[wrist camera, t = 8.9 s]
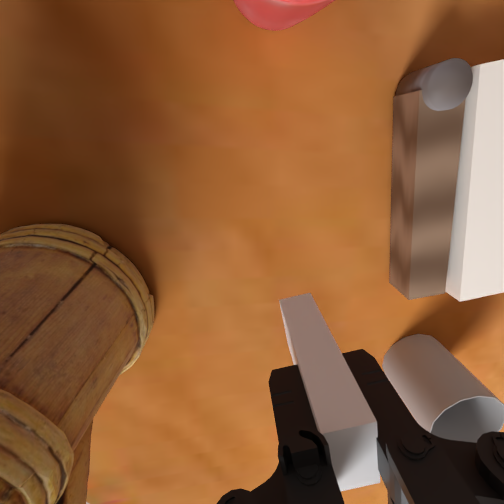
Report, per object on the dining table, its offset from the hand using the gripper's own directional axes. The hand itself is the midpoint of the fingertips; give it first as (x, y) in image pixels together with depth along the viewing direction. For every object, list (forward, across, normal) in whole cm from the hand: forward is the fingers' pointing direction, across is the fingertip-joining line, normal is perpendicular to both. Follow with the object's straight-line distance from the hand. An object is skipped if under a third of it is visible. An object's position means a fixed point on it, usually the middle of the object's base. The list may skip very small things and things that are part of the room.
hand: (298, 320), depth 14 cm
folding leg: (+18, +16, -1) cm, 24 cm away
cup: (+18, +17, -25) cm, 35 cm away
